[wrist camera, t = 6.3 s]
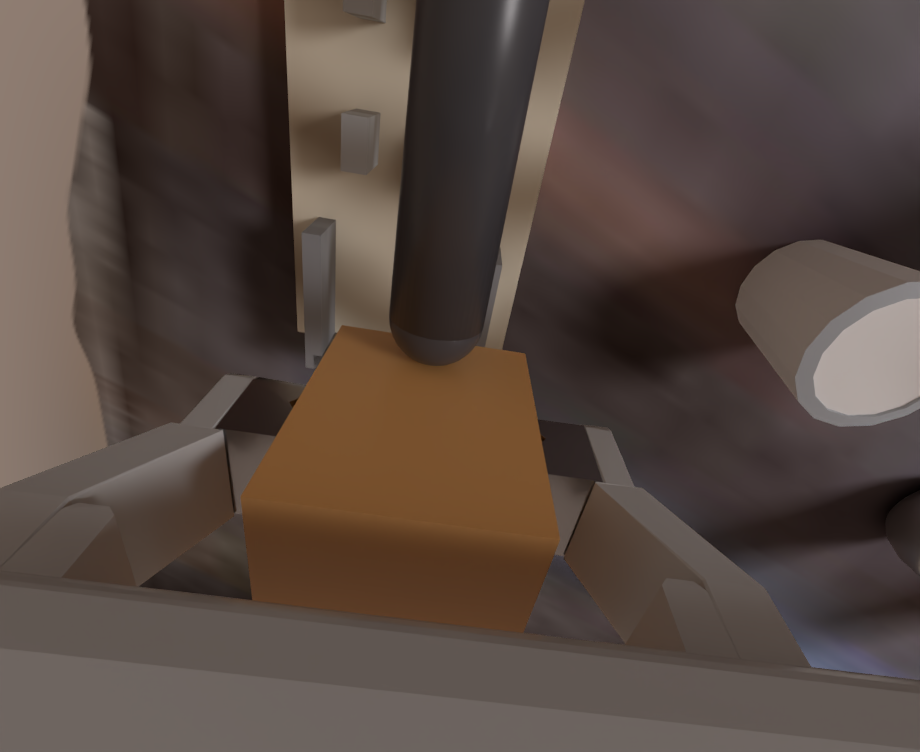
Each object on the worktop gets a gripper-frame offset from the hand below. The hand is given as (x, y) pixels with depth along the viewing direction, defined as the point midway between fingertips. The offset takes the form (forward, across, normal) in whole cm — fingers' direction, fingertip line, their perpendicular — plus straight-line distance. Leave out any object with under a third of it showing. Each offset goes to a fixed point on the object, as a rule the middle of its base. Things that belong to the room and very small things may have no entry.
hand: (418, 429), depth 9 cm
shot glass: (+17, -18, 0) cm, 25 cm away
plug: (+2, 0, -4) cm, 5 cm away
